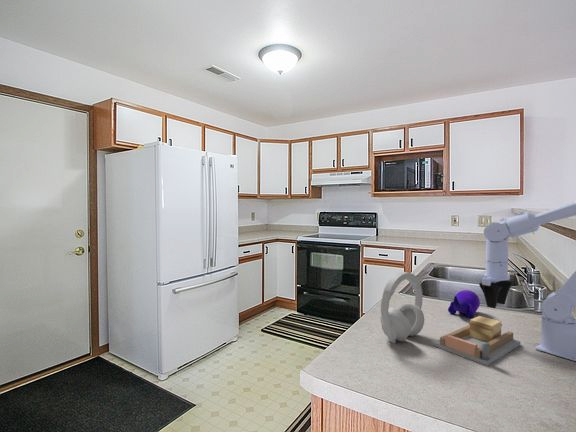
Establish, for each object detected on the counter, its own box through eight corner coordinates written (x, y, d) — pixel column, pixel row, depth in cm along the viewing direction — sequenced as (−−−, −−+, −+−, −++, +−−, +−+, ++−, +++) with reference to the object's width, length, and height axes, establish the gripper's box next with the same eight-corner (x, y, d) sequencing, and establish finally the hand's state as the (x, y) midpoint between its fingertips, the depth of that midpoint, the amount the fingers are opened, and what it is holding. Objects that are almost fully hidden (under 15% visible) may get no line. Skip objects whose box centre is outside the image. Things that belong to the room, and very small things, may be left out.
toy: (469, 325, 110) (484, 311, 119) (468, 298, 109) (483, 286, 118) (443, 318, 116) (459, 306, 126) (442, 293, 115) (458, 282, 125)
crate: (501, 338, 93) (502, 321, 93) (492, 343, 89) (492, 326, 89) (479, 331, 98) (479, 315, 98) (469, 336, 94) (469, 319, 94)
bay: (520, 344, 91) (520, 327, 91) (487, 365, 79) (487, 345, 79) (469, 329, 103) (469, 314, 102) (433, 345, 90) (433, 328, 90)
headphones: (395, 351, 87) (396, 279, 87) (371, 341, 94) (372, 274, 93) (431, 334, 99) (432, 270, 98) (407, 326, 105) (408, 266, 105)
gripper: (492, 257, 105) (492, 298, 105) (471, 262, 96) (471, 306, 97) (517, 260, 99) (517, 303, 99) (497, 265, 90) (496, 312, 91)
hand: (496, 305), depth 97 cm, fingers open, 6 cm apart
